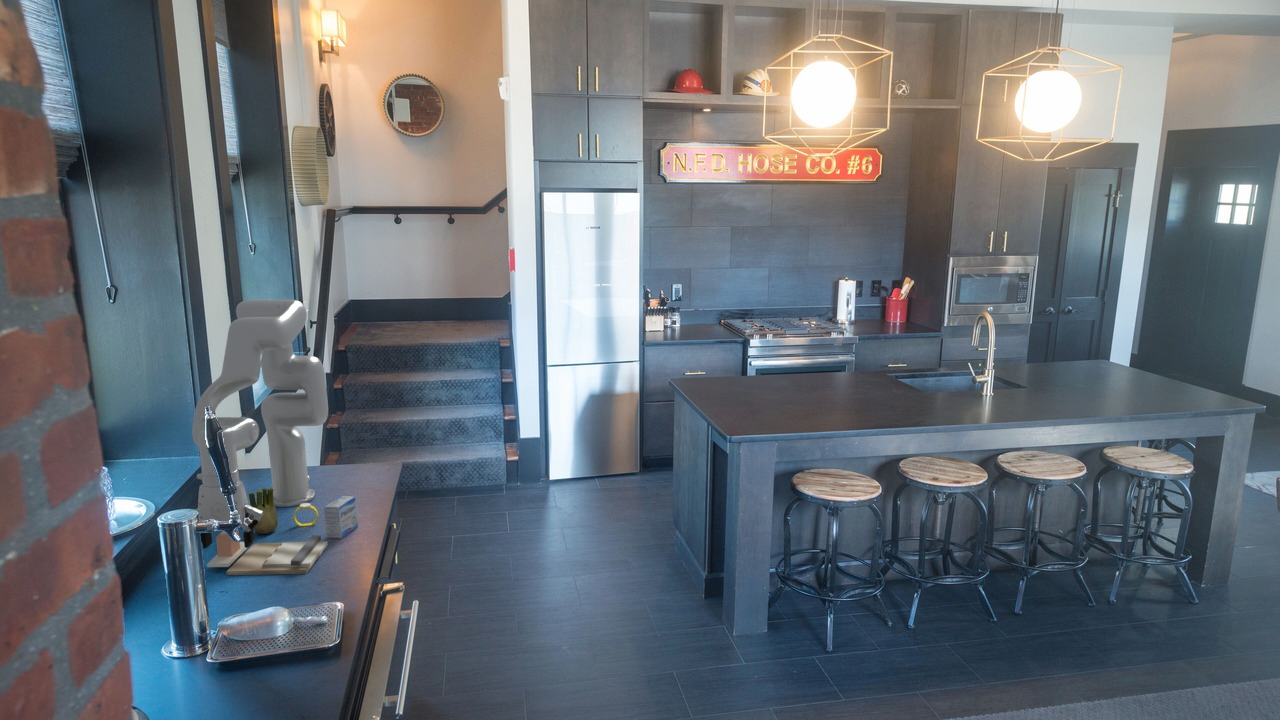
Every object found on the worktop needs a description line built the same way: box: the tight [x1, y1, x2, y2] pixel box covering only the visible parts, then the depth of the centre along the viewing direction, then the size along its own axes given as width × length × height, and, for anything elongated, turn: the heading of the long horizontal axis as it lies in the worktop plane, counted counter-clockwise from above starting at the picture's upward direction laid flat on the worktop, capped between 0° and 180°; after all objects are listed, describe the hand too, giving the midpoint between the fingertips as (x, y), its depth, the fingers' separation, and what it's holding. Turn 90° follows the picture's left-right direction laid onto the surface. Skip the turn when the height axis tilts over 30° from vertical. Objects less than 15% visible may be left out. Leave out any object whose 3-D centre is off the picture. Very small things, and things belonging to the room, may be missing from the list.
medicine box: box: [323, 495, 359, 539], centre depth 204 cm, size 8×4×9 cm, turn 168°
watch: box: [292, 502, 319, 528], centre depth 209 cm, size 6×3×6 cm, turn 108°
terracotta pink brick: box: [206, 528, 248, 568], centre depth 188 cm, size 12×5×6 cm, turn 3°
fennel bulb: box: [248, 487, 279, 535], centre depth 204 cm, size 6×5×12 cm
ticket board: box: [226, 535, 329, 576], centre depth 189 cm, size 15×18×3 cm
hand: (228, 545), depth 188 cm, fingers open, 9 cm apart
